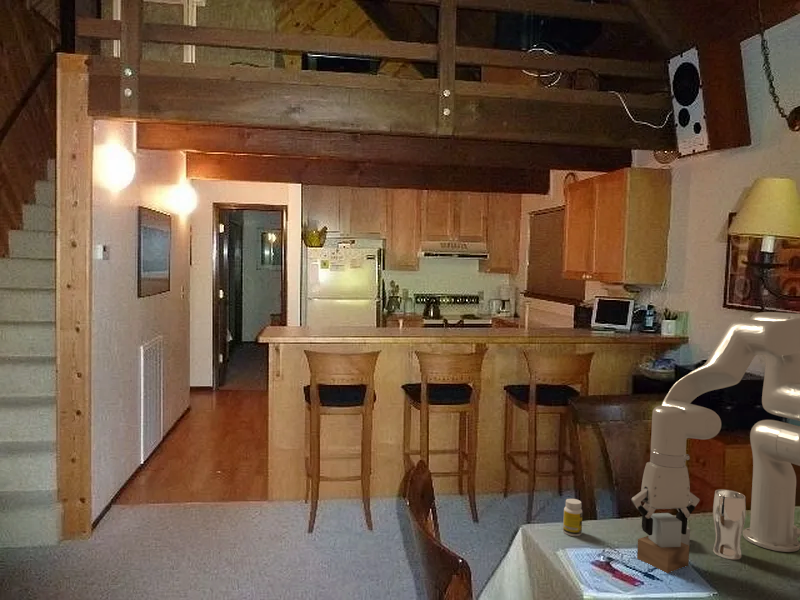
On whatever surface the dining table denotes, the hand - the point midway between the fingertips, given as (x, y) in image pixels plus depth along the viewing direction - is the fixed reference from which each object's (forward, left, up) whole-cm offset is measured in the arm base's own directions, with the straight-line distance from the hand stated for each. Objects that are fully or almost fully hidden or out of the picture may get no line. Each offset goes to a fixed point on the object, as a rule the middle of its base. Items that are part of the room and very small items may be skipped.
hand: (664, 532), depth 137 cm
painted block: (0, 0, -2) cm, 2 cm away
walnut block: (0, 0, -7) cm, 7 cm away
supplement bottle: (+15, -17, -7) cm, 24 cm away
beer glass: (-19, -3, -7) cm, 21 cm away
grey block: (-9, -11, -7) cm, 16 cm away
